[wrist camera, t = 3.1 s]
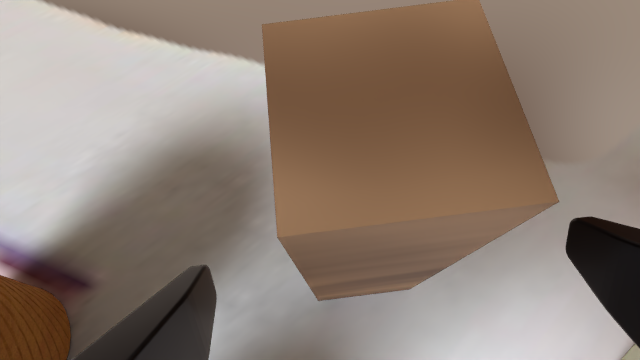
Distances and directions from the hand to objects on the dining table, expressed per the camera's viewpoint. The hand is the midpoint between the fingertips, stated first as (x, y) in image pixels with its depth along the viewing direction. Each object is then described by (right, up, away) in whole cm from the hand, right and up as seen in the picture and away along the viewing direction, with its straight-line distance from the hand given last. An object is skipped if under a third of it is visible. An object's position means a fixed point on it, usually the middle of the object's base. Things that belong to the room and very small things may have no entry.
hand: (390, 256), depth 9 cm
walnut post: (0, -2, +10) cm, 10 cm away
